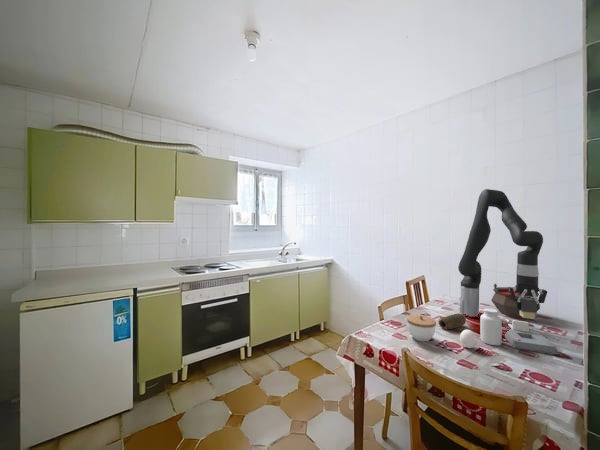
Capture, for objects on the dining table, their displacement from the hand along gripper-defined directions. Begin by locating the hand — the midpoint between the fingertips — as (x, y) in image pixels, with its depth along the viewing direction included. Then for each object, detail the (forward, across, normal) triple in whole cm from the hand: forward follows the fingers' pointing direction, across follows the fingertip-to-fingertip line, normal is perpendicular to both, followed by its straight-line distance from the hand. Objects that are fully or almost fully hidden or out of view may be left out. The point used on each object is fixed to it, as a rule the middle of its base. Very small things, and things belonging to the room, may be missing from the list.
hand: (526, 310), depth 117 cm
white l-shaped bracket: (+12, 0, -9) cm, 15 cm away
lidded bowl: (+15, +45, +13) cm, 49 cm away
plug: (+3, 0, 0) cm, 3 cm away
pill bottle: (+15, +15, +5) cm, 22 cm away
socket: (+15, 0, 0) cm, 15 cm away
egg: (+15, +26, +15) cm, 34 cm away
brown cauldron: (+15, -10, -43) cm, 47 cm away
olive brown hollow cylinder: (+16, +29, -7) cm, 34 cm away
